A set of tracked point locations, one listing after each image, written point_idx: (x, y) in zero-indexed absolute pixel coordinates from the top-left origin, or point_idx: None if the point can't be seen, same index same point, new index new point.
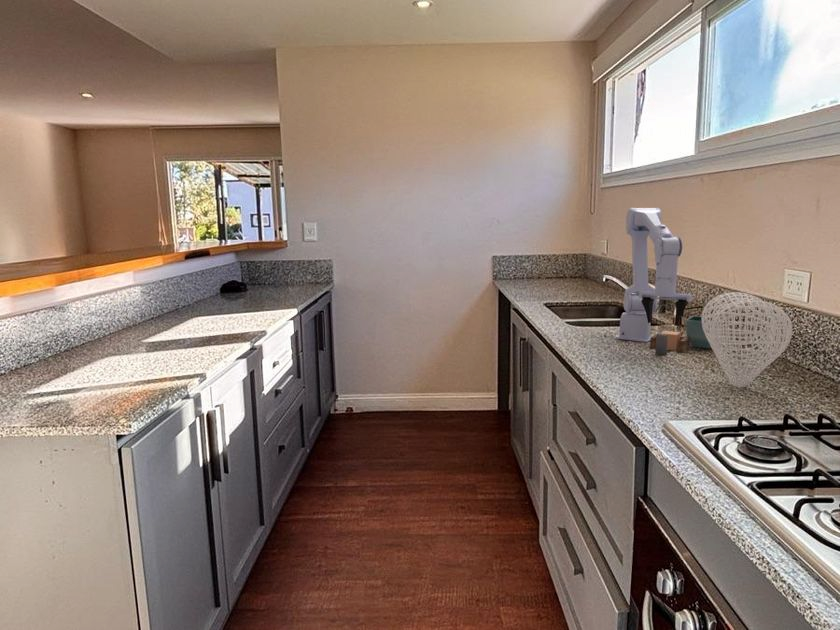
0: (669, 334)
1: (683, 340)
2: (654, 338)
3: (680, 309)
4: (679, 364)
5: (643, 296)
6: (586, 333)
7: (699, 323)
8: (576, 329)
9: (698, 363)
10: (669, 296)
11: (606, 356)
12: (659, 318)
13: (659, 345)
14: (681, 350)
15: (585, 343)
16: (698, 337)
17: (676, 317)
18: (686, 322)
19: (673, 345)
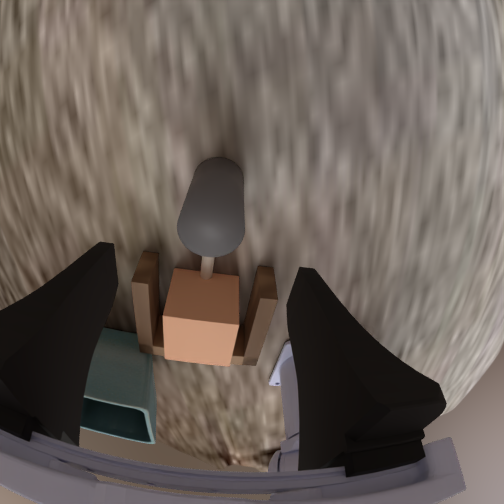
0: (195, 319)
1: (138, 294)
2: (260, 297)
3: (9, 313)
4: (120, 20)
5: (413, 467)
6: (435, 359)
7: (100, 391)
8: (442, 378)
9: (58, 87)
10: (64, 481)
11: (439, 55)
12: (264, 470)
13: (223, 174)
14: (149, 256)
15: (476, 252)
16: (114, 350)
17: (76, 272)
18: (146, 401)
19: (181, 282)
